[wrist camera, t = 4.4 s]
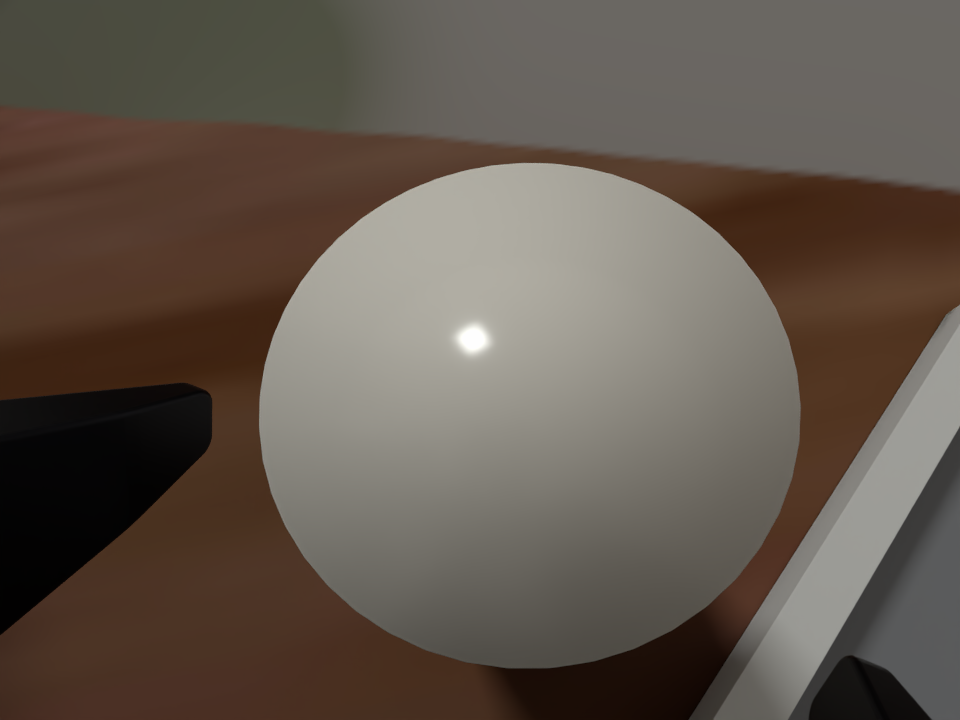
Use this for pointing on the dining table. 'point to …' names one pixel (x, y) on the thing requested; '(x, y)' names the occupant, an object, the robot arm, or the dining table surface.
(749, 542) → the grey rounded cylinder
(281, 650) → the dining table surface
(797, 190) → the dining table surface
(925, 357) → the tray
